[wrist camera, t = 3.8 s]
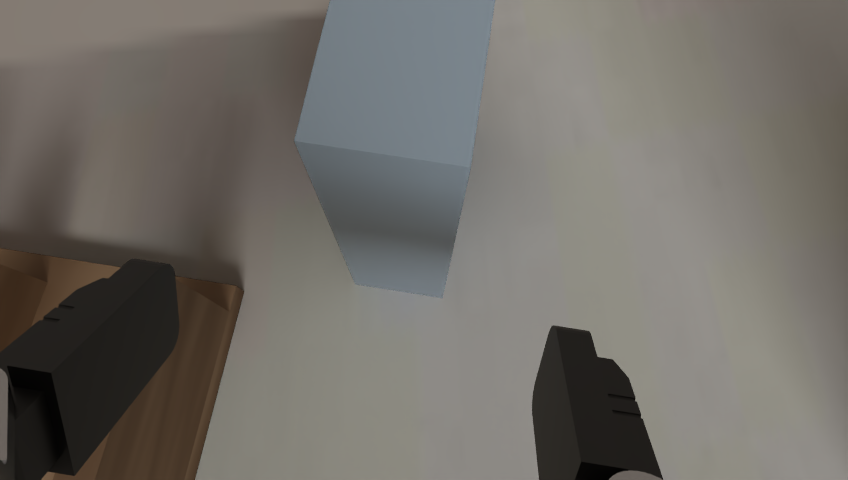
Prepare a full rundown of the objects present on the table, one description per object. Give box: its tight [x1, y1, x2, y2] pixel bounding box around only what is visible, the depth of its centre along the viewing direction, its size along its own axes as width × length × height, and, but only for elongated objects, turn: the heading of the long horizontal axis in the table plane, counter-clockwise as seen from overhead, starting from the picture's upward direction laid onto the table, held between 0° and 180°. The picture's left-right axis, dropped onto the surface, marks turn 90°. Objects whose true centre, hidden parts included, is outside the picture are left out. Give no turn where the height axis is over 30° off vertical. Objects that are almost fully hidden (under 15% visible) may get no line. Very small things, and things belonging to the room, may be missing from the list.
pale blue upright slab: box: [294, 0, 495, 298], centre depth 18 cm, size 4×8×12 cm, turn 171°
